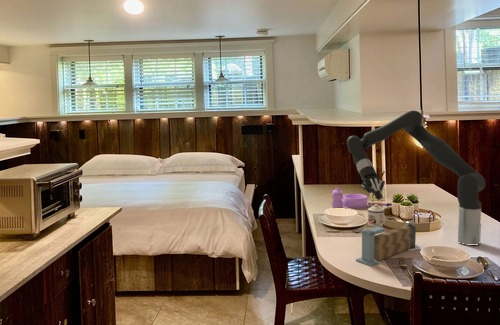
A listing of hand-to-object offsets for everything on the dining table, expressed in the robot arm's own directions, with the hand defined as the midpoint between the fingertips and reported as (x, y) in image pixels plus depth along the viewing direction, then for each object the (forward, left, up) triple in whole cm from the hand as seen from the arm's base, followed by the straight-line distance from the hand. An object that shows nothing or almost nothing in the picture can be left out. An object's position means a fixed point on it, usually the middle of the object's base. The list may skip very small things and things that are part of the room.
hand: (379, 198), depth 211 cm
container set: (+40, -64, -22) cm, 79 cm away
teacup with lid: (+10, -28, -22) cm, 37 cm away
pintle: (-14, 0, -21) cm, 26 cm away
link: (-11, +11, -21) cm, 26 cm away
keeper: (-5, +25, -21) cm, 34 cm away
